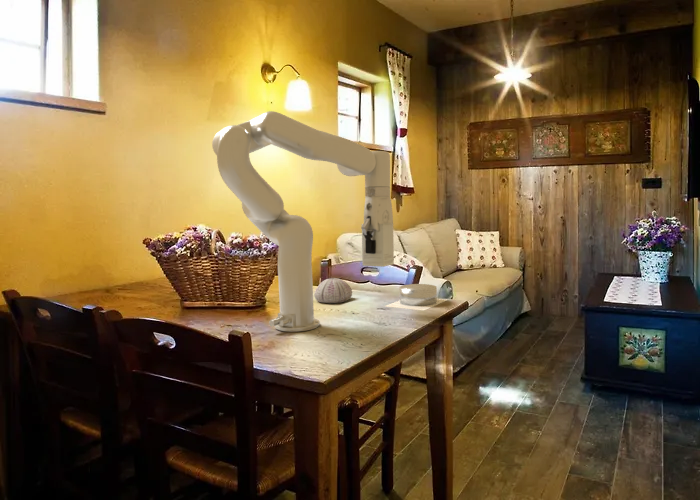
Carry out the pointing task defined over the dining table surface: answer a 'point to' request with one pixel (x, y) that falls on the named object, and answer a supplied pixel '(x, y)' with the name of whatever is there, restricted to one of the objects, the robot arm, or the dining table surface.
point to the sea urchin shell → (333, 291)
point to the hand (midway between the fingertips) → (377, 251)
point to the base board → (398, 305)
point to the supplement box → (380, 247)
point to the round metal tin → (418, 295)
